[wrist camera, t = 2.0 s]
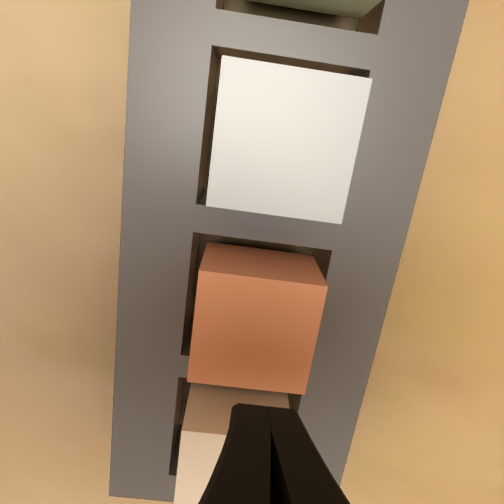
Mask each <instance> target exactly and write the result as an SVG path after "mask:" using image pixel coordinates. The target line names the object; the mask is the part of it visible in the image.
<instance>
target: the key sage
mask: <svg viewBox="0 0 504 504" xmlns="http://www.w3.org/2000/svg"><path fill="white" fill-rule="evenodd" d="M247 1H253V2H259V3H265V4H271V5H277V6H283V7H289V8H295V9H301V10H308V11H314V12H320V13H326V14H332V15H338V16H344V17H350V18H356V19H360V18H362V17H363V16H364V15H365V14H366V13H368V12H369V11H370V10H371V9H372V8H374V7H375V6H376V5H377V4H378V3H380V2H381V1H382V0H247Z"/></svg>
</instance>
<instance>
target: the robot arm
mask: <svg viewBox="0 0 504 504" xmlns="http://www.w3.org/2000/svg"><path fill="white" fill-rule="evenodd" d="M198 504H350V503H349V501H348V500H347V498H346V496H345V495H344V493H343V492H342V490H341V488H340V487H339V485H338V483H337V482H336V480H335V479H334V477H333V475H332V474H331V472H330V471H329V469H328V467H327V465H326V464H325V462H324V460H323V459H322V457H321V455H320V453H319V452H318V450H317V448H316V446H315V444H314V443H313V441H312V439H311V437H310V435H309V433H308V431H307V430H306V428H305V426H304V424H303V422H302V420H301V418H300V416H299V414H298V413H297V412H296V410H295V409H289V408H280V407H271V406H261V405H252V404H243V403H237V404H236V405H234V406H232V409H231V416H230V423H229V429H228V432H227V436H226V439H225V442H224V445H223V448H222V451H221V453H220V456H219V458H218V460H217V463H216V465H215V468H214V470H213V473H212V475H211V477H210V480H209V482H208V484H207V486H206V489H205V491H204V493H203V495H202V497H201V499H200V501H199V503H198Z"/></svg>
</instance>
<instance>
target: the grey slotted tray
mask: <svg viewBox="0 0 504 504" xmlns="http://www.w3.org/2000/svg"><path fill="white" fill-rule="evenodd" d="M468 3H469V0H382V1H381V2H380V3H378V4H377V5H376V6H375V7H374V8H372V9H371V10H370V11H369V12H368V13H366V14H365V15H364V16H363V17H362V18H360V21H359V26H358V31H351V30H345V29H339V28H332V27H326V26H320V25H314V24H308V23H302V22H296V21H289V20H283V19H277V18H271V17H265V16H259V15H253V14H246V13H240V12H234V11H228V10H223V5H224V0H131V12H130V35H129V57H128V80H127V102H126V125H125V147H124V170H123V193H122V215H121V238H120V260H119V283H118V305H117V328H116V350H115V373H114V395H113V418H112V440H111V463H110V486H109V496H114V497H125V498H136V499H147V500H157V501H168V502H174V495H175V485H176V476H177V467H178V458H179V448H180V439H181V430H182V426H179V422H180V412H181V403H182V393H183V384H184V378H187V374H188V365H189V356H190V347H191V337H192V328H193V319H190V318H191V308H192V299H193V289H194V280H195V270H196V261H197V251H198V242H199V233H204V234H211V235H219V236H226V237H234V238H242V239H249V240H257V241H265V242H272V243H280V244H287V245H295V246H303V247H310V248H315V249H314V254H313V256H314V258H315V260H316V263H317V265H318V267H319V269H320V271H321V273H322V275H323V277H324V279H325V281H326V283H327V285H328V289H327V294H326V299H325V303H324V308H323V313H322V317H321V322H320V327H319V331H318V336H317V341H316V345H315V350H314V355H313V359H312V364H311V369H310V373H309V378H308V383H307V387H306V392H305V395H301V394H292V393H287V394H288V401H289V407H290V409H295V410H296V412H297V413H298V414H299V416H300V418H301V420H302V422H303V424H304V426H305V428H306V430H307V431H308V433H309V435H310V437H311V439H312V441H313V443H314V444H315V446H316V448H317V450H318V452H319V453H320V455H321V457H322V459H323V460H324V462H325V464H326V465H327V467H328V469H329V471H330V472H331V474H332V475H333V477H334V479H335V480H336V482H337V483H338V485H339V486H340V483H341V479H342V475H343V471H344V468H345V464H346V460H347V456H348V453H349V449H350V445H351V441H352V438H353V434H354V430H355V426H356V423H357V419H358V415H359V411H360V408H361V404H362V400H363V396H364V393H365V389H366V385H367V382H368V378H369V374H370V370H371V367H372V363H373V359H374V355H375V352H376V348H377V344H378V340H379V337H380V333H381V329H382V325H383V322H384V318H385V314H386V310H387V307H388V303H389V299H390V295H391V292H392V288H393V284H394V280H395V277H396V273H397V269H398V265H399V262H400V258H401V254H402V250H403V247H404V243H405V239H406V235H407V232H408V228H409V224H410V220H411V217H412V213H413V209H414V205H415V202H416V198H417V194H418V190H419V187H420V183H421V179H422V175H423V172H424V168H425V164H426V160H427V157H428V153H429V149H430V145H431V142H432V138H433V134H434V130H435V127H436V123H437V119H438V115H439V112H440V108H441V104H442V100H443V97H444V93H445V89H446V85H447V82H448V78H449V74H450V70H451V67H452V63H453V59H454V55H455V52H456V48H457V44H458V40H459V37H460V33H461V29H462V25H463V22H464V18H465V14H466V10H467V7H468ZM222 55H225V56H231V57H237V58H244V59H250V60H257V61H263V62H269V63H276V64H282V65H289V66H295V67H301V68H308V69H314V70H321V71H327V72H333V73H340V74H346V75H353V76H359V77H365V78H372V79H373V80H372V84H371V89H370V94H369V98H368V103H367V108H366V112H365V117H364V122H363V126H362V131H361V136H360V140H359V145H358V150H357V154H356V159H355V164H354V168H353V173H352V178H351V182H350V187H349V191H348V196H347V201H346V205H345V210H344V215H343V219H342V224H335V223H328V222H320V221H313V220H306V219H298V218H291V217H283V216H276V215H269V214H261V213H254V212H246V211H239V210H231V209H224V208H217V207H209V206H206V199H207V190H205V189H204V185H205V176H206V166H207V157H208V147H209V138H210V128H211V119H212V109H213V100H214V90H215V81H216V71H217V62H218V58H222Z"/></svg>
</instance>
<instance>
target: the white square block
mask: <svg viewBox="0 0 504 504" xmlns="http://www.w3.org/2000/svg"><path fill="white" fill-rule="evenodd" d="M372 80H373V79H372V78H365V77H359V76H353V75H346V74H340V73H333V72H327V71H321V70H314V69H308V68H301V67H295V66H289V65H282V64H276V63H269V62H263V61H257V60H250V59H244V58H237V57H231V56H225V55H222V60H221V69H220V78H219V88H218V97H217V106H216V115H215V125H214V134H213V143H212V152H211V162H210V171H209V180H208V189H207V199H206V206H209V207H217V208H224V209H231V210H239V211H246V212H254V213H261V214H269V215H276V216H283V217H291V218H298V219H306V220H313V221H320V222H328V223H335V224H342V219H343V215H344V210H345V205H346V201H347V196H348V191H349V187H350V182H351V178H352V173H353V168H354V164H355V159H356V154H357V150H358V145H359V140H360V136H361V131H362V126H363V122H364V117H365V112H366V108H367V103H368V98H369V94H370V89H371V84H372Z"/></svg>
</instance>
